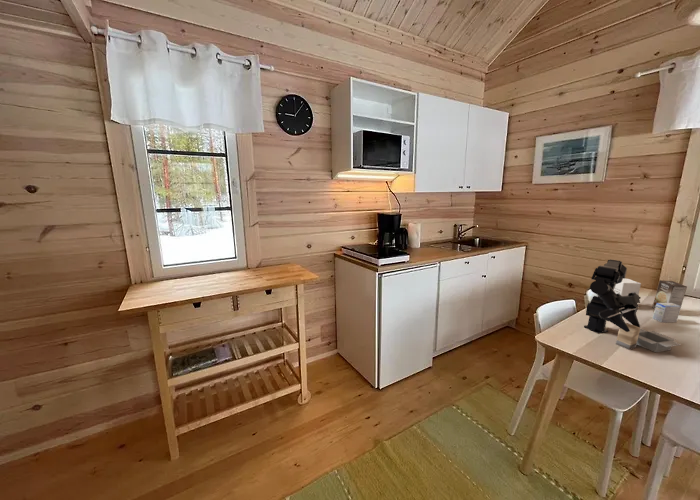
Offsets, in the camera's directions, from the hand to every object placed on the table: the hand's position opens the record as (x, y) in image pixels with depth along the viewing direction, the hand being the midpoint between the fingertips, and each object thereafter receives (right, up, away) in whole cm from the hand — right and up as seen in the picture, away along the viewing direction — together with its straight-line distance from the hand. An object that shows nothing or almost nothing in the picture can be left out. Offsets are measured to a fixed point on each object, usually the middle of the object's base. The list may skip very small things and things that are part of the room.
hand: (633, 329), depth 117 cm
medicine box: (+42, -3, +28) cm, 51 cm away
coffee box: (+55, -1, +39) cm, 67 cm away
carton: (+10, -8, +4) cm, 13 cm away
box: (0, -8, +3) cm, 8 cm away
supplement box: (+37, +1, +46) cm, 59 cm away
